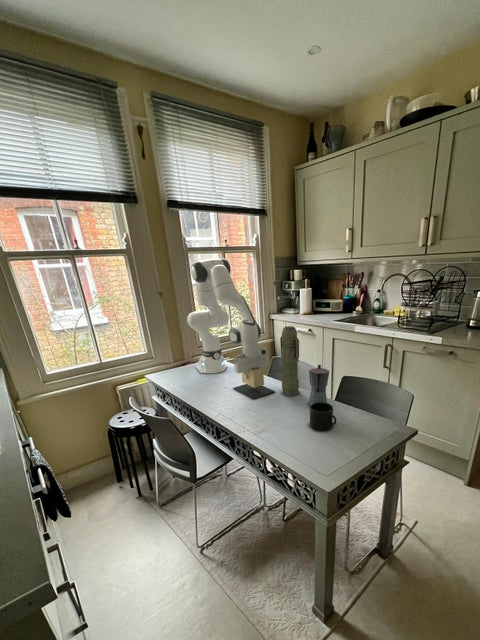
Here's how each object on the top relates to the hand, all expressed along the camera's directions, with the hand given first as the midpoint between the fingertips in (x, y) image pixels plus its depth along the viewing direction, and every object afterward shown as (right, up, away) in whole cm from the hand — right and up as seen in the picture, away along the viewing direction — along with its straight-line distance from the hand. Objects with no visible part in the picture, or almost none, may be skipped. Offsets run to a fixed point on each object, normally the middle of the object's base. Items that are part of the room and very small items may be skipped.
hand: (252, 377), depth 171 cm
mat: (0, -7, +3) cm, 8 cm away
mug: (+32, -24, -37) cm, 55 cm away
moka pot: (+33, -15, -17) cm, 40 cm away
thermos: (+20, -9, -2) cm, 22 cm away
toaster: (0, -3, +1) cm, 4 cm away
